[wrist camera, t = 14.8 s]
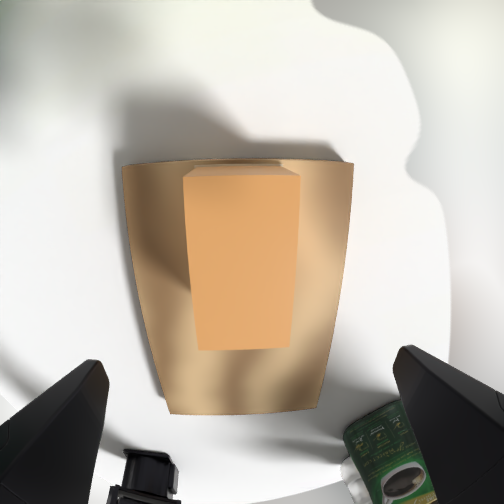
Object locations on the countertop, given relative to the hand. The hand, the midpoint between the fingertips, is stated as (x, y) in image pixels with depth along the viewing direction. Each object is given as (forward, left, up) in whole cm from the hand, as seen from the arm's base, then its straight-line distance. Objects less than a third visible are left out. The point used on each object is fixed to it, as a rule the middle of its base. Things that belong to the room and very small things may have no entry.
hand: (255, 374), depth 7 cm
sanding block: (0, 0, -11) cm, 11 cm away
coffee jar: (+17, -25, -13) cm, 33 cm away
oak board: (0, -6, -13) cm, 14 cm away
